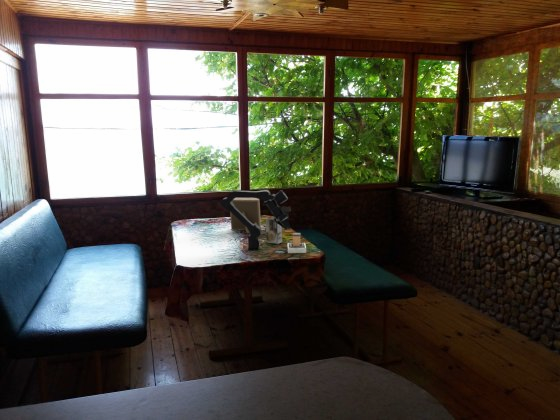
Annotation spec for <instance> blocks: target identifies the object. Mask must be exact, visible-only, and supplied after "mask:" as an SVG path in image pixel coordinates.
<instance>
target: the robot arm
mask: <svg viewBox="0 0 560 420" xmlns="http://www.w3.org/2000/svg"><path fill="white" fill-rule="evenodd" d="M235 198H257V199H259V201H260V200H261V201H263V204H262V206H263V207H265V206H267V207H268V209H269V211H270V213H271V214H272V215H273V218H274V222H276V221H277V222H276V223H277V224H278V225H280V226H281V227H282V229H285V230H291V226H290V222H289V214H288V213H289V212H291V211H292V209H291V206H286V205H285V206H282V207H281V206H280V205H281V204H283V203H284V202H286V201H287V200H288V199H289V198H288V196H287V194H286V193H285V192H284V191H283V190H282V189H281V190H279V192H277V193H276V194H275V193H272V192H270V191H269V190H268V189H262V190H257V191H253V190H238V189H234V190H233V191H232V192H231V193H230V194H229V195H228V196H227V197H224V198H222V199H221V200H220V203H219V205H220V206H221V208H222V209H225V211H228V212H229V213H230V212H231V213H232V214H233V215H234V216H235V217H236V218H237V219H238V220H239V221H240V222H241V223H242V224H243V225H245V226H246V227H247V229H248V231H249V232H250V233H248V234H249V235H248V236H247V240H248V242H247V245H248V246H247V247H248V248H247V250H249V251H250V250H255V251H256V250H257V251H258V250H259V248H260V240H259V237H260V236H261V234H262V227H261V228H260V226H258V225H257V223H255V224H253V223H251V222H250V221H249V220H248V219H247V218H246V217H245V216H244V215H243V214H242V213H241V212H240V211H239V210H238V209H237V208H236V207H235V206H234V204H233V202H232V200H234V199H235Z"/></svg>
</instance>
